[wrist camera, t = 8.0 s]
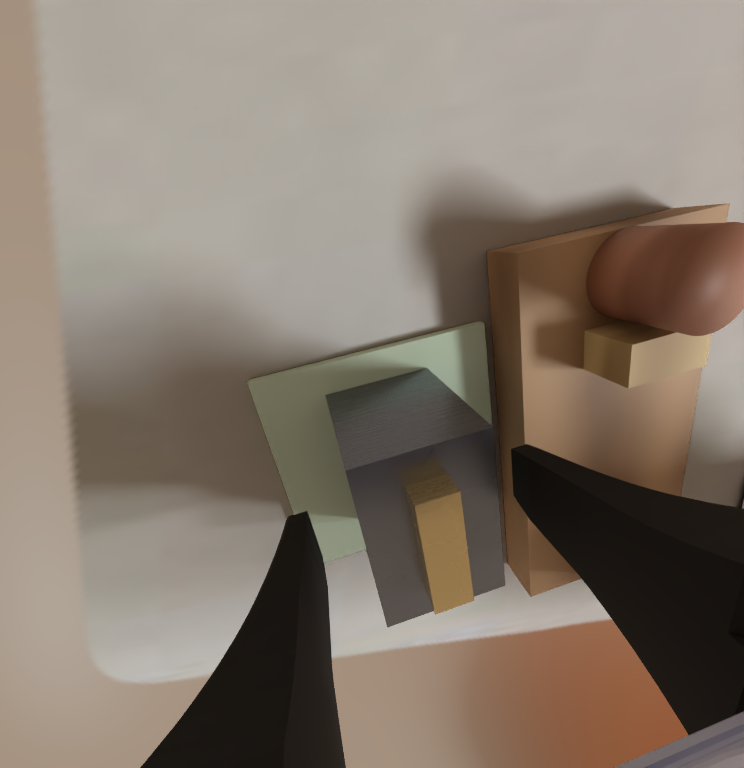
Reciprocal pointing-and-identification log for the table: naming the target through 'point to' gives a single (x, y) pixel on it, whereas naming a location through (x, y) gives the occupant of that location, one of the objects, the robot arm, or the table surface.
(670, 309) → the block sculpture plaque
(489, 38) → the table surface
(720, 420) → the table surface
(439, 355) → the mat
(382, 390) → the grey block
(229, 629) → the table surface
